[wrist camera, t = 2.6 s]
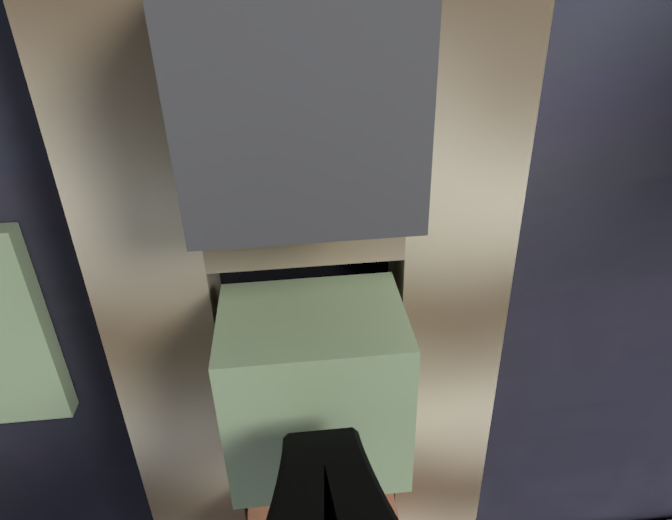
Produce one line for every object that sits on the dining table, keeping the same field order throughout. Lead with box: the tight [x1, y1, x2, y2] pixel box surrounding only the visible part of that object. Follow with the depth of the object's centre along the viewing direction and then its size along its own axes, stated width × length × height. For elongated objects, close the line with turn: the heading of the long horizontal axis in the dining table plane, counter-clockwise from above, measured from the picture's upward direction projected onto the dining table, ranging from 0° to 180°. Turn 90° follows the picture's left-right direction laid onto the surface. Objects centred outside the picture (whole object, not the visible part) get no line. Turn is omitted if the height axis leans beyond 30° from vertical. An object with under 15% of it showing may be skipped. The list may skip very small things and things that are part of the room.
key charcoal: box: [142, 0, 442, 252], centre depth 10 cm, size 4×4×3 cm
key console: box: [3, 0, 555, 520], centre depth 15 cm, size 20×10×2 cm, turn 1°
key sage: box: [208, 272, 420, 510], centre depth 13 cm, size 4×4×3 cm
